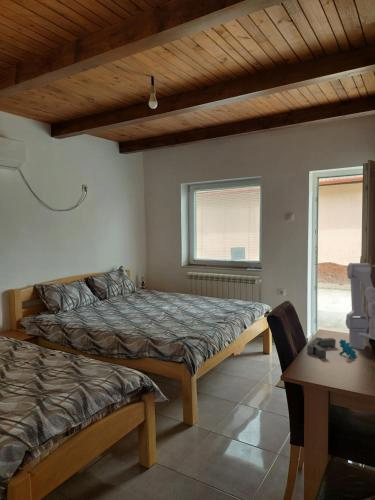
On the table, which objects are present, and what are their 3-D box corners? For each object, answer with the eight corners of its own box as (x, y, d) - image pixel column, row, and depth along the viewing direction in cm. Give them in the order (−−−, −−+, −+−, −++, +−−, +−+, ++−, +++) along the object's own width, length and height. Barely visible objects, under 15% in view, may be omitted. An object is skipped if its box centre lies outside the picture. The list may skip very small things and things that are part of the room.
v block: (318, 342, 191) (318, 335, 191) (336, 346, 186) (336, 338, 185) (304, 355, 173) (305, 347, 172) (324, 359, 167) (324, 351, 167)
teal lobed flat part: (351, 358, 165) (338, 339, 170) (342, 364, 168) (329, 346, 173) (361, 355, 172) (347, 337, 177) (351, 361, 175) (338, 343, 180)
